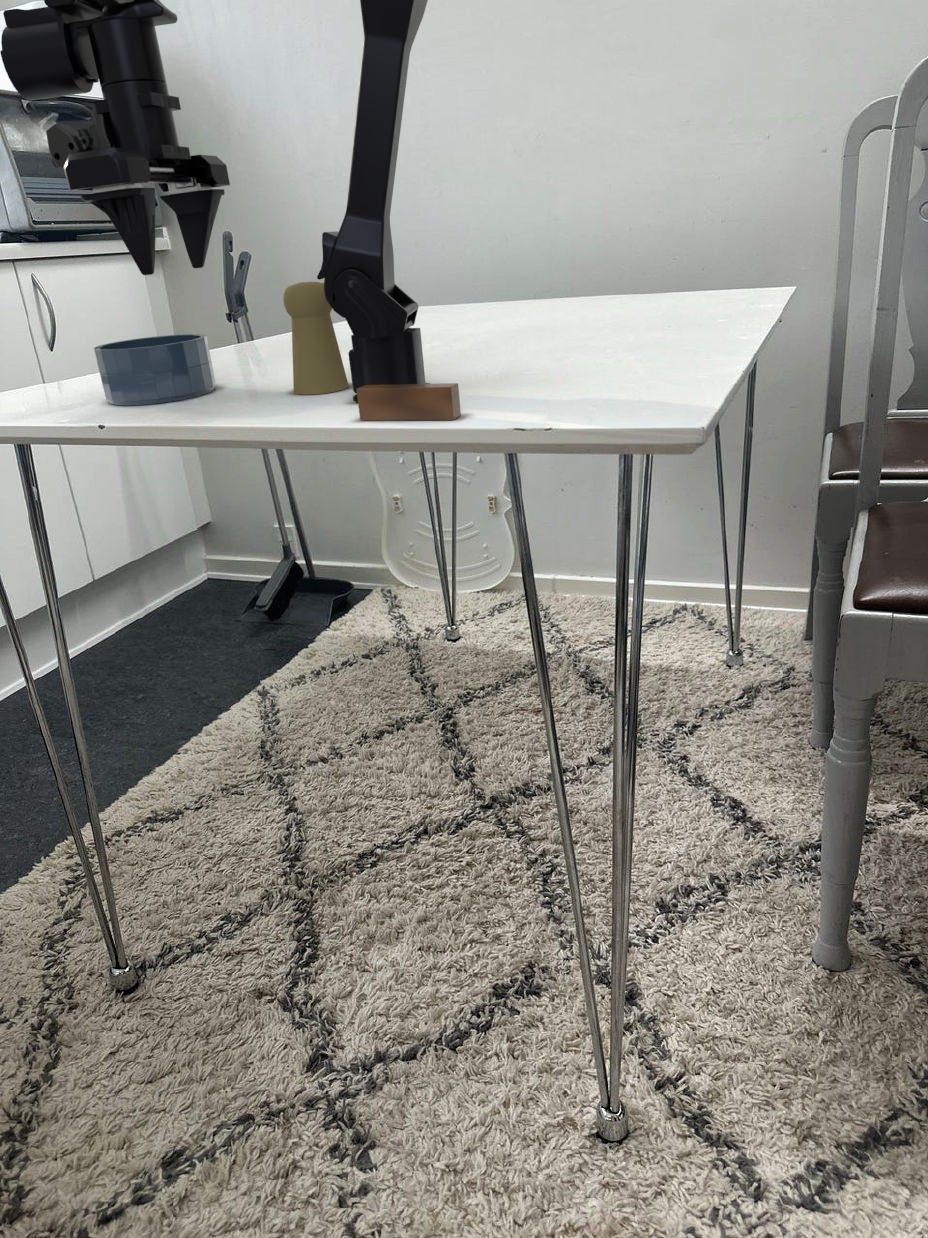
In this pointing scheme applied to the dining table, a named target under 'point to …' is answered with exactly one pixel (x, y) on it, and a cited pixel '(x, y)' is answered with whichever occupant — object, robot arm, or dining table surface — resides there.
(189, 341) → the bowl
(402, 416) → the walnut wood brick
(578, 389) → the dining table surface
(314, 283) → the cork
